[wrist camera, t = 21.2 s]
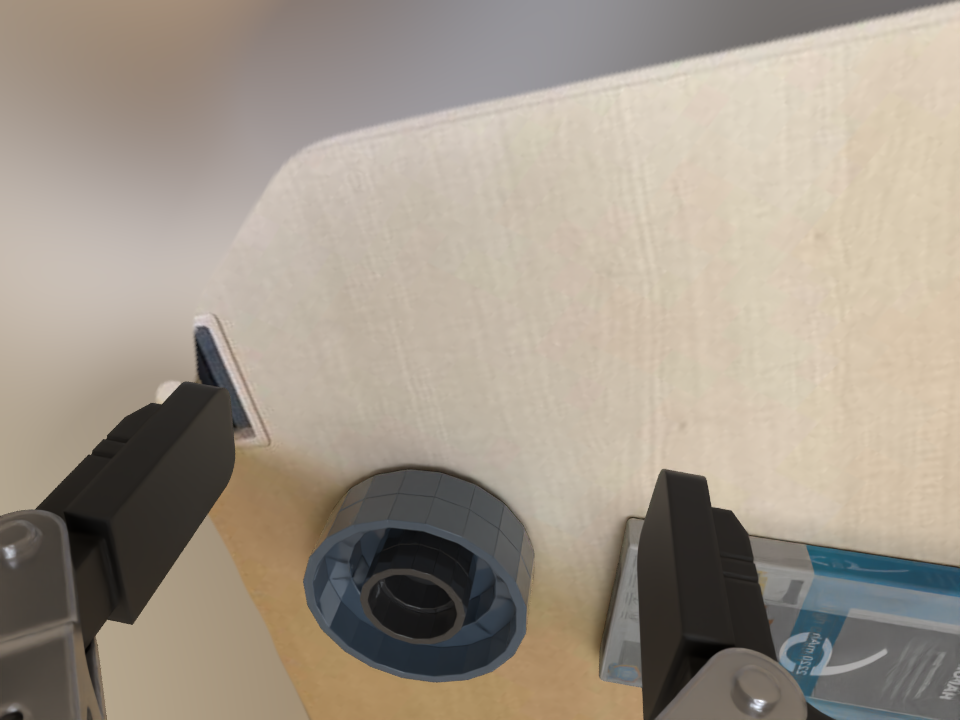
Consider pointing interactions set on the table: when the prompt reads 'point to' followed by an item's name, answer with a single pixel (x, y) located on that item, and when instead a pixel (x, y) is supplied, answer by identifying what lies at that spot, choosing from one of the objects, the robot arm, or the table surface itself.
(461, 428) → the table surface
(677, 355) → the table surface
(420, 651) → the grey bowl
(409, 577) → the black cup
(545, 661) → the table surface
